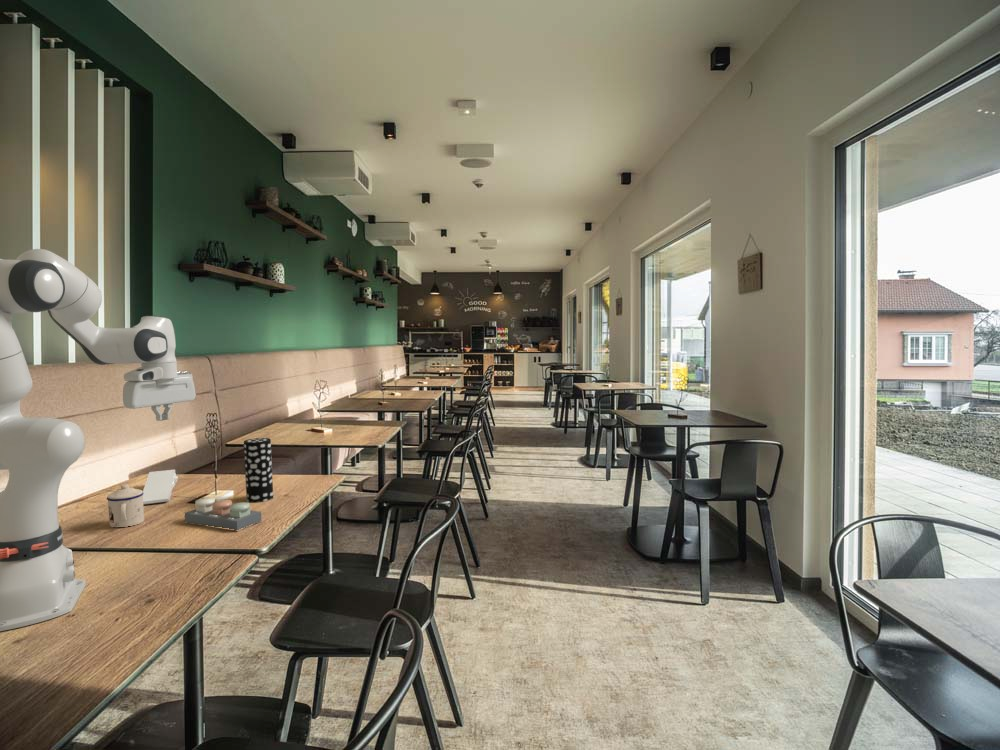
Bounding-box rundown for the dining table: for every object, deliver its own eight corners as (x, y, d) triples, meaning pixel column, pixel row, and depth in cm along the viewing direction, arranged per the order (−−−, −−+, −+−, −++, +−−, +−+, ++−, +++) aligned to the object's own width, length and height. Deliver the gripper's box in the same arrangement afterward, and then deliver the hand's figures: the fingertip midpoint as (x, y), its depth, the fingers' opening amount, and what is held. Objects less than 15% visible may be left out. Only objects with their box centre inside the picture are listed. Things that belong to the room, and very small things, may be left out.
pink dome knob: (236, 517, 170) (235, 500, 170) (222, 522, 165) (221, 506, 165) (223, 515, 172) (223, 499, 172) (209, 520, 167) (208, 504, 167)
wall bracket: (169, 519, 190) (175, 488, 214) (174, 499, 189) (180, 470, 214) (134, 517, 185) (145, 485, 210) (139, 496, 184) (149, 466, 209)
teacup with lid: (111, 521, 171) (108, 483, 170) (146, 516, 175) (144, 479, 174) (104, 534, 160) (101, 493, 159) (142, 528, 164) (140, 489, 163)
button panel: (261, 521, 169) (261, 511, 168) (237, 531, 161) (236, 520, 160) (210, 513, 177) (209, 503, 177) (185, 522, 169) (184, 512, 168)
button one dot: (219, 514, 173) (218, 498, 172) (204, 519, 168) (203, 503, 168) (207, 512, 175) (206, 496, 174) (192, 517, 170) (191, 501, 170)
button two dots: (254, 519, 167) (253, 503, 167) (240, 525, 162) (239, 508, 162) (241, 517, 169) (240, 501, 169) (226, 523, 164) (225, 506, 164)
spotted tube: (277, 498, 192) (274, 439, 191) (253, 504, 186) (250, 443, 185) (266, 493, 198) (263, 437, 196) (242, 499, 192) (239, 440, 190)
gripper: (184, 369, 174) (187, 414, 176) (117, 375, 156) (121, 425, 157) (199, 370, 172) (201, 415, 173) (133, 375, 153) (136, 426, 154)
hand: (162, 420), depth 165 cm, fingers closed
